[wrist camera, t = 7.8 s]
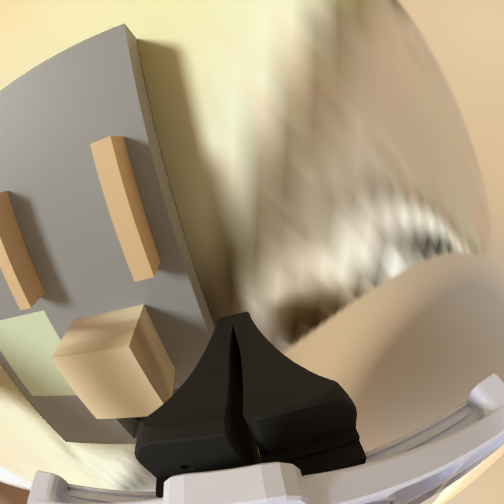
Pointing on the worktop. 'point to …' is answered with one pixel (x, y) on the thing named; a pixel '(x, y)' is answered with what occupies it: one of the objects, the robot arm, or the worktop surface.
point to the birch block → (116, 363)
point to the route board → (88, 225)
